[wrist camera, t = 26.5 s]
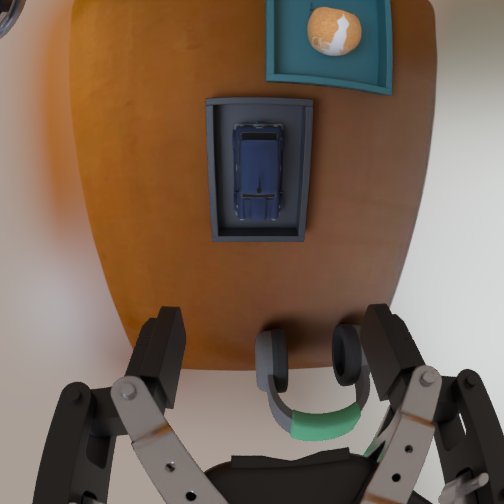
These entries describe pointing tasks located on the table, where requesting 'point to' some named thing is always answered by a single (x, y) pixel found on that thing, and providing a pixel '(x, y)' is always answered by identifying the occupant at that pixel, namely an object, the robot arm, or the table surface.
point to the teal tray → (324, 66)
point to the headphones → (346, 371)
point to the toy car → (258, 170)
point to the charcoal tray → (294, 166)
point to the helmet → (333, 31)
